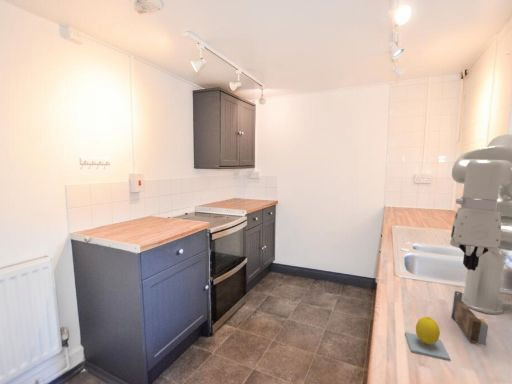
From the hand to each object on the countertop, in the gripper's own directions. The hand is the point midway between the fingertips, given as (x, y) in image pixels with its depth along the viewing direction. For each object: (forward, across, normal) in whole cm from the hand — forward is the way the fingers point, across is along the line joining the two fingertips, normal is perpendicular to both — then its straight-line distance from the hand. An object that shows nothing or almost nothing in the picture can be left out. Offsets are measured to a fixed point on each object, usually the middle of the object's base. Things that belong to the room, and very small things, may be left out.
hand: (469, 268), depth 77 cm
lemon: (+21, -11, -9) cm, 25 cm away
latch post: (+21, +4, 0) cm, 22 cm away
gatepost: (+21, +2, +11) cm, 24 cm away
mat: (+21, -10, -9) cm, 25 cm away
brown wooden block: (+20, +2, +4) cm, 21 cm away
